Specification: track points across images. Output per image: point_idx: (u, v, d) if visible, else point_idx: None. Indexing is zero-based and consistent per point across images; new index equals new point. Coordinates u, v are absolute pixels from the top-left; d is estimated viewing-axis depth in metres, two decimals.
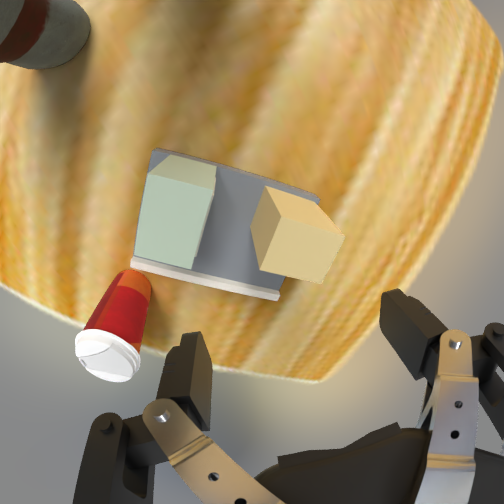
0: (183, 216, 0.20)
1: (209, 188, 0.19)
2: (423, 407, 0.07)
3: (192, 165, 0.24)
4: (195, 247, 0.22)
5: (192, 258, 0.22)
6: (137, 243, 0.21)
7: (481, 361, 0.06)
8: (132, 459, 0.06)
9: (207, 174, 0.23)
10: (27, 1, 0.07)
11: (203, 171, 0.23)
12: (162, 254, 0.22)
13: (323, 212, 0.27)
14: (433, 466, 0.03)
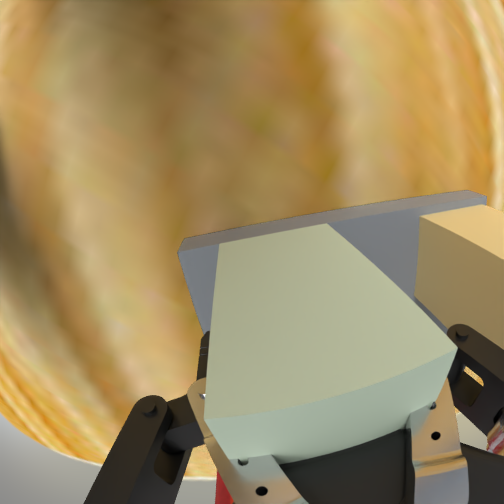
0: None
1: (446, 351, 0.04)
2: None
3: (290, 254, 0.10)
4: None
5: None
6: None
7: None
8: (169, 444, 0.07)
9: (353, 268, 0.08)
10: None
11: (333, 261, 0.09)
12: None
13: None
14: (422, 471, 0.03)
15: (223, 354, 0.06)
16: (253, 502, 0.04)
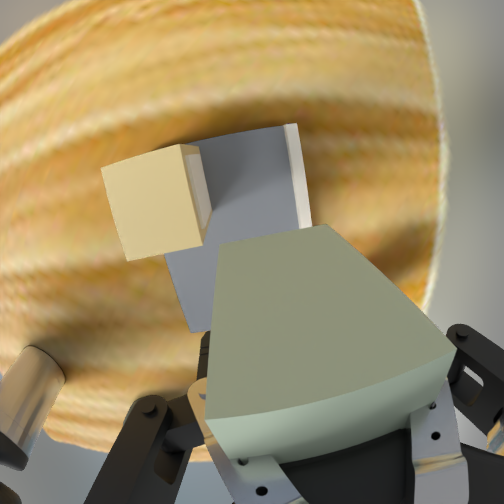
0: None
1: (445, 353, 0.04)
2: None
3: (290, 254, 0.10)
4: None
5: None
6: None
7: None
8: (169, 444, 0.07)
9: (353, 269, 0.08)
10: None
11: (333, 262, 0.09)
12: None
13: None
14: (422, 471, 0.03)
15: (223, 355, 0.06)
16: (253, 502, 0.04)
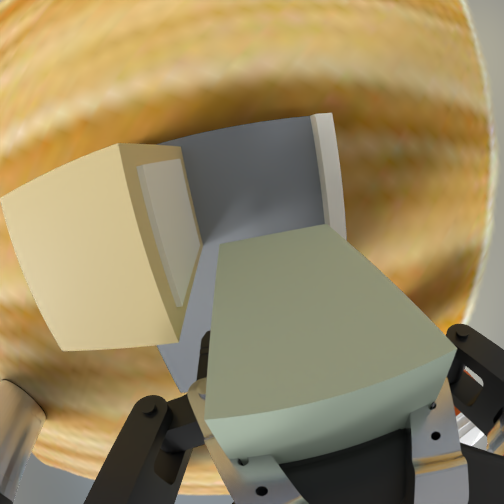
0: None
1: (445, 352, 0.04)
2: None
3: (290, 254, 0.10)
4: None
5: None
6: None
7: None
8: (169, 444, 0.07)
9: (353, 268, 0.08)
10: None
11: (333, 262, 0.09)
12: None
13: None
14: (422, 471, 0.03)
15: (223, 355, 0.06)
16: (253, 502, 0.04)
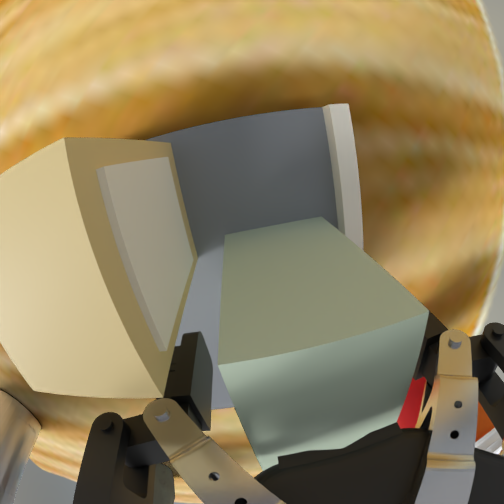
0: (362, 399, 0.06)
1: (418, 313, 0.05)
2: (423, 407, 0.07)
3: (288, 241, 0.11)
4: (394, 421, 0.07)
5: None
6: (266, 466, 0.08)
7: (481, 361, 0.06)
8: (133, 459, 0.06)
9: (342, 251, 0.09)
10: None
11: (325, 247, 0.10)
12: None
13: None
14: (433, 466, 0.03)
15: (232, 317, 0.07)
16: None
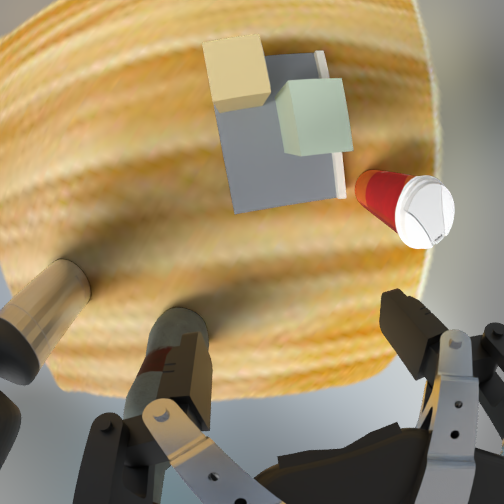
0: (329, 105, 0.21)
1: (338, 78, 0.20)
2: (423, 407, 0.07)
3: None
4: (349, 128, 0.22)
5: (350, 139, 0.22)
6: (301, 143, 0.22)
7: (481, 361, 0.06)
8: (132, 459, 0.06)
9: None
10: (146, 369, 0.28)
11: None
12: (326, 145, 0.22)
13: None
14: (433, 466, 0.03)
15: None
16: None
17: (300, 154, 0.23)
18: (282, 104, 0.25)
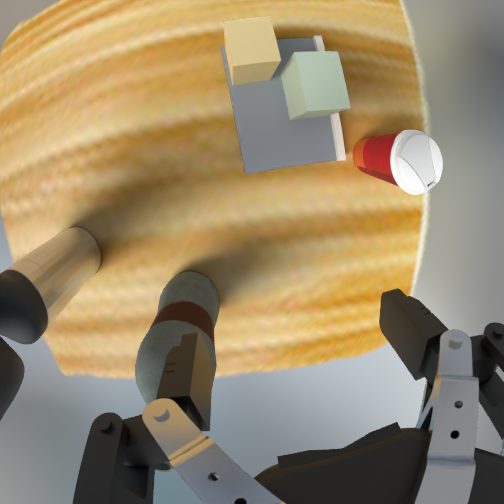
0: (329, 71, 0.24)
1: None
2: (423, 407, 0.07)
3: None
4: (346, 90, 0.24)
5: (347, 99, 0.25)
6: (306, 101, 0.25)
7: (481, 361, 0.06)
8: (132, 459, 0.06)
9: None
10: (160, 320, 0.30)
11: None
12: (327, 103, 0.25)
13: None
14: (433, 466, 0.03)
15: None
16: None
17: (306, 110, 0.25)
18: (288, 75, 0.28)
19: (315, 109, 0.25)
